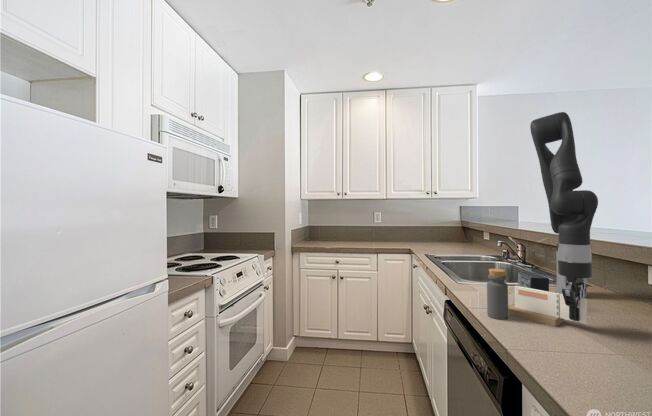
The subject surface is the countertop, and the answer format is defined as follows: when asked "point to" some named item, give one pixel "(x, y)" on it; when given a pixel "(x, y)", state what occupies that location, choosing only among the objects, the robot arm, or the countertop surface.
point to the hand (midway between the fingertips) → (575, 319)
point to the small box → (533, 281)
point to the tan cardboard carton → (536, 306)
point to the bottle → (497, 295)
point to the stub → (565, 310)
